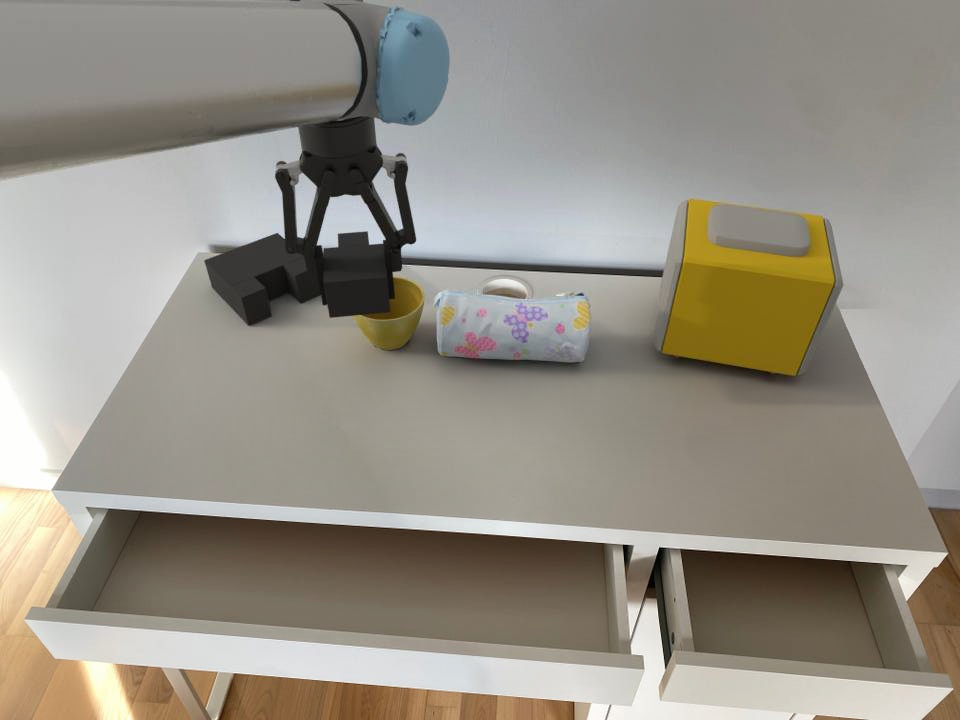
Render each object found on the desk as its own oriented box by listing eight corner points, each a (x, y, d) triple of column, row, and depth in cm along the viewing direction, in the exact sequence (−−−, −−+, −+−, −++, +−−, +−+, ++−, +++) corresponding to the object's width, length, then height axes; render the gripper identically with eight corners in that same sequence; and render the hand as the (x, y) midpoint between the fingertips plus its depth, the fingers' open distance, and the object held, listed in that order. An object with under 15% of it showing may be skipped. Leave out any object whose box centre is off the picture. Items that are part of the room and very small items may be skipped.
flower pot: (407, 308, 105) (404, 267, 100) (439, 347, 99) (437, 305, 94) (343, 329, 101) (337, 288, 97) (371, 371, 95) (366, 329, 90)
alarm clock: (793, 316, 105) (836, 204, 92) (801, 389, 93) (852, 272, 81) (657, 295, 108) (681, 184, 96) (649, 363, 97) (675, 247, 84)
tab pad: (329, 318, 82) (323, 282, 79) (329, 268, 90) (323, 234, 86) (390, 312, 83) (387, 277, 80) (385, 264, 91) (381, 229, 87)
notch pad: (248, 326, 102) (241, 297, 98) (212, 287, 108) (203, 260, 105) (322, 294, 108) (317, 266, 104) (283, 259, 114) (277, 232, 111)
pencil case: (584, 333, 101) (592, 278, 95) (590, 375, 95) (599, 319, 88) (437, 330, 101) (434, 275, 95) (433, 372, 95) (430, 316, 89)
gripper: (431, 86, 74) (438, 270, 89) (232, 96, 71) (274, 284, 87) (440, 115, 68) (445, 306, 84) (225, 128, 66) (271, 322, 81)
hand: (358, 294), depth 85 cm, fingers closed on tab pad, 7 cm apart
